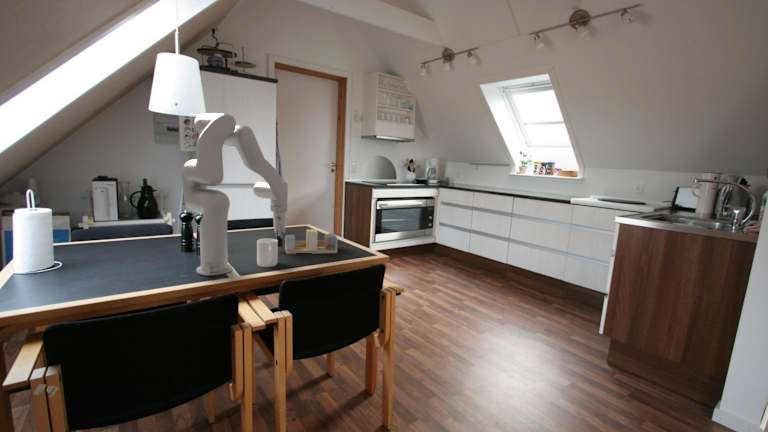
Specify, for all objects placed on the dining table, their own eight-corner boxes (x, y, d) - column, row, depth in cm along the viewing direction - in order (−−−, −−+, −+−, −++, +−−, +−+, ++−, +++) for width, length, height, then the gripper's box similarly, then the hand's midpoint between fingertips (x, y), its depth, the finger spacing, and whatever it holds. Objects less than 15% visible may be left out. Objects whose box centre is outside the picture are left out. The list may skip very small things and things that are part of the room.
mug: (281, 269, 149) (282, 244, 147) (260, 271, 145) (260, 245, 143) (275, 260, 159) (275, 237, 158) (255, 262, 155) (255, 238, 154)
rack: (337, 252, 177) (337, 236, 176) (286, 254, 170) (286, 237, 169) (333, 248, 186) (334, 232, 185) (285, 249, 178) (285, 232, 177)
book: (317, 250, 174) (317, 232, 173) (307, 251, 173) (308, 232, 171) (315, 247, 181) (315, 229, 179) (306, 247, 179) (306, 229, 178)
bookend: (294, 250, 172) (295, 237, 171) (286, 250, 171) (286, 237, 170) (293, 246, 178) (294, 234, 177) (285, 247, 177) (285, 234, 176)
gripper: (288, 210, 164) (287, 250, 167) (286, 205, 178) (285, 242, 181) (270, 210, 161) (270, 250, 165) (270, 205, 175) (270, 242, 179)
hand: (278, 246), depth 173 cm, fingers closed
